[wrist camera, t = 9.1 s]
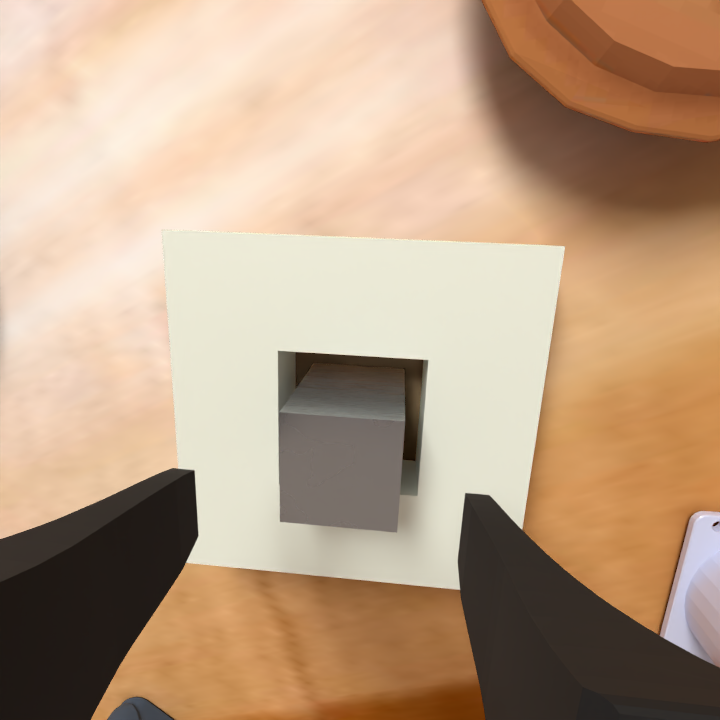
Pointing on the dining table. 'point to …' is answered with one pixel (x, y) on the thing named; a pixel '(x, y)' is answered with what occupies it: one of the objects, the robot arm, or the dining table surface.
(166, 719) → the vaping device
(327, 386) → the peg
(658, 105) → the pie
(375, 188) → the dining table surface
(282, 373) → the socket block
